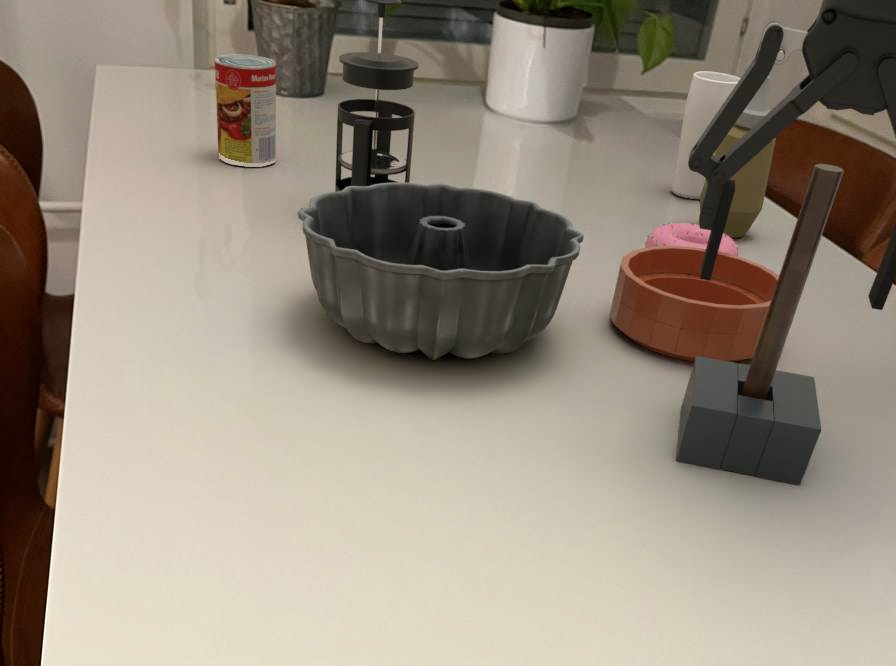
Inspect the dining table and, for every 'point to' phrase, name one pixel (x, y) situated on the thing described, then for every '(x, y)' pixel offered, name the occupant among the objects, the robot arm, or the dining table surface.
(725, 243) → the doughnut
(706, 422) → the holder
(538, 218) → the bundt pan
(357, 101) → the french press
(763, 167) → the squeeze bottle
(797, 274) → the stick
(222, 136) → the canned food
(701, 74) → the drinking glass
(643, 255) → the bowl
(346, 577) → the dining table surface
